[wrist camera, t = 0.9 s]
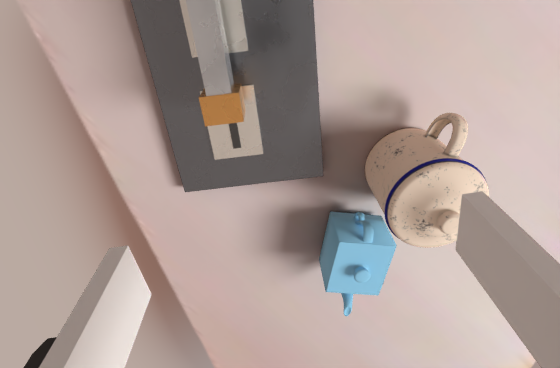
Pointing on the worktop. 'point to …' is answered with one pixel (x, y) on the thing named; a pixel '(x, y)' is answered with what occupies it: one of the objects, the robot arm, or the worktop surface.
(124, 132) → the worktop surface
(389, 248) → the teapot
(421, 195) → the teacup with lid
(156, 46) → the plate
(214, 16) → the grey bar
